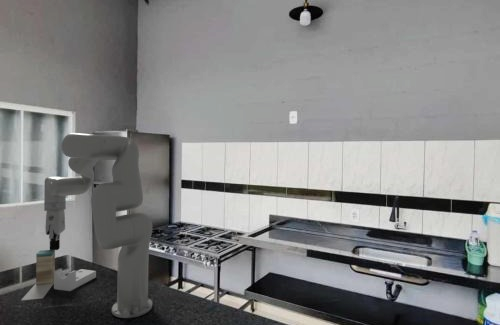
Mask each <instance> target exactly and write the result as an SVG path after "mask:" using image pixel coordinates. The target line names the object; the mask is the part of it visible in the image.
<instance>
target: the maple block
mask: <svg viewBox="0 0 500 325" xmlns="http://www.w3.org/2000/svg"><path fill="white" fill-rule="evenodd" d="M35 255H36V256H35V260H36V261H35V262H36V263H35V271H36V272H35V275H36V276H35V284H36V285H46V284H52V283H53V281H54V271H55V270H56V269H55V268H56V267H55V266H56V263H55V262H56V258H55V257H56V250H50V249H45V250H38V252H37V253H36V254H35Z"/></svg>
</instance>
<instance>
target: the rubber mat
mask: <svg viewBox="0 0 500 325" xmlns="http://www.w3.org/2000/svg"><path fill="white" fill-rule="evenodd" d="M53 286H54V281H53V283H52V284H46V285H36V283H35V284H34V285H33V286H32V287H31V288H30V289H29V291H27V293H26V294H25V295H24V296H23V297H22V298H21V300H20V301H29V300H40V299H41V300H42V299H44V298H45V296H46V295H47V293H48V292H49V291H50V290H51V288H52V287H53Z"/></svg>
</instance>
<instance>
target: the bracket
mask: <svg viewBox="0 0 500 325" xmlns="http://www.w3.org/2000/svg"><path fill="white" fill-rule="evenodd" d="M96 277H97V271H96V270H91V269H83V268H81V269H78V270H71V271H69V272H68V273H67V275H65V273H64V272H63V268H57V269H55V271H54V284H53V289H54V290H58V291H67V292H71V291H74V290H75V289H76V288H79V287H80V286H83V285H85V284H87V283H89V282H90V281H92V280H93V279H95V278H96Z"/></svg>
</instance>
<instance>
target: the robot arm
mask: <svg viewBox="0 0 500 325" xmlns="http://www.w3.org/2000/svg"><path fill="white" fill-rule="evenodd" d="M60 146H61V147H60V148H61V151H62V153H63V155H65V156H66V157H68V158H69V159H68V167H69V169H70V170H72V172H74V173H75V174H78V175H80V176H48V177H45V179H44V190H43V192H44V198H43V201H44V202H43V203H44V204H43V206H44V207H43V208H44V209H43V210H44V212H46V213H45V214H46V215H45V235H46V236H48V239H49V250H55V251H58V250H59V249H60V245H61V244H60V243H61V242H60V241H61V240H60V237H61V233H63V232H64V231H65V229H66V216H65V210H66V202H67V201H66V197H67V196H77V195H83V194H85V193H86V192H88V190H89V189H91V187H92V185H94V182H95V171H94V167H95V165H96V164H97V163H98V162H99V161H114V163H113V165H112V168H111V176H112V182H111V181H110V182H102V183H100V184H98V185H97V186H95V187H94V189H93V190H92V194H91V197H90V202H91V203H90V204H91V213H92V221H93V226H94V228H93V229H94V234H95V239H96V243H97V244H98V246H99V247H100V248H101V249H103V250H106V251H108V250H113V249H118V248H119V249H120V250H119V252H118V255H117V282H116V284H117V285H116V288H117V290H116V292H117V293H116V302H115V303H114V304H113V305H112V307H111V313H112V315H113V316H114V317H117V318H119V319H120V318H121V319H133V318H137V317H140V316H143V315H145V314H147V313H148V312H150V311H151V310H152V308H153V300H152V299H150V298H149V260H150V259H149V258H150V257H149V256H150V255H149V254H150V243H151V237H152V235H153V221H152V220H151V217H150V216H149V215H147V214H145V213H141V212H133V213H127V214H123V215H117V213H118V212H125V211H130V210H134V209H137V208H139V207H140V206H141V205H142V204H143V201H144V196H143V187H142V180H141V173H140V168H139V161H140V160H139V158H140V155H139V154H140V152H139V151H140V150H139V147H138V144H137V143H136V141H135V140H134V139H132V138H131V137H128V136H122V135H121V136H120V135H109V134H106V135H105V134H93V133H84V132H83V133H79V132H70V133H68V134H67V135H66V136H64V137H63V139H62V142H61V145H60Z"/></svg>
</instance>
